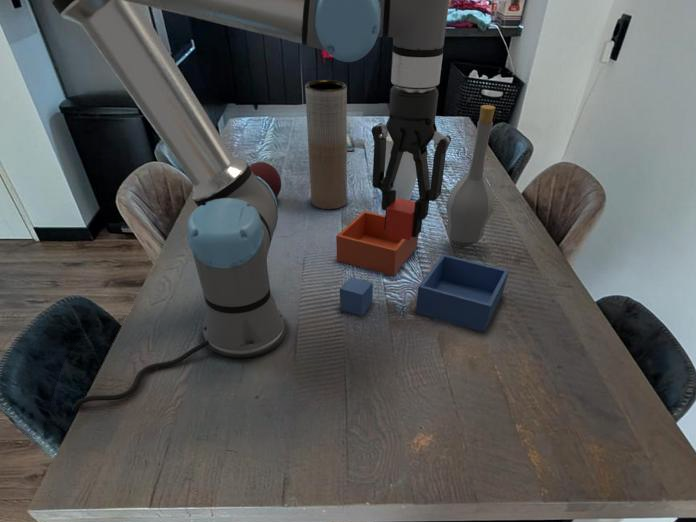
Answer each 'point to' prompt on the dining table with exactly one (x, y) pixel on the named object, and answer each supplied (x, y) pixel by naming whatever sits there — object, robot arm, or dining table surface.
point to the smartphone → (349, 144)
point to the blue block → (356, 296)
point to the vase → (327, 142)
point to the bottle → (472, 191)
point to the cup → (402, 172)
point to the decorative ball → (267, 175)
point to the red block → (400, 219)
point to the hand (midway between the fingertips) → (402, 230)
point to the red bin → (373, 245)
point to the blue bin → (461, 292)
